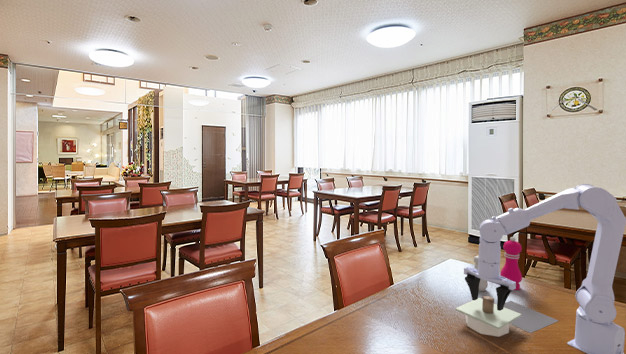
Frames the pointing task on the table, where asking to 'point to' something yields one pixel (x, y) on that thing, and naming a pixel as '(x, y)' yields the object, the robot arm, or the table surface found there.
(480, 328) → the bowl
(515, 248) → the pepper mill
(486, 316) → the cover
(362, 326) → the table surface
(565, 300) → the table surface
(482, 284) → the salt shaker
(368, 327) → the table surface
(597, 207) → the robot arm
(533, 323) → the mat
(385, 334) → the table surface
